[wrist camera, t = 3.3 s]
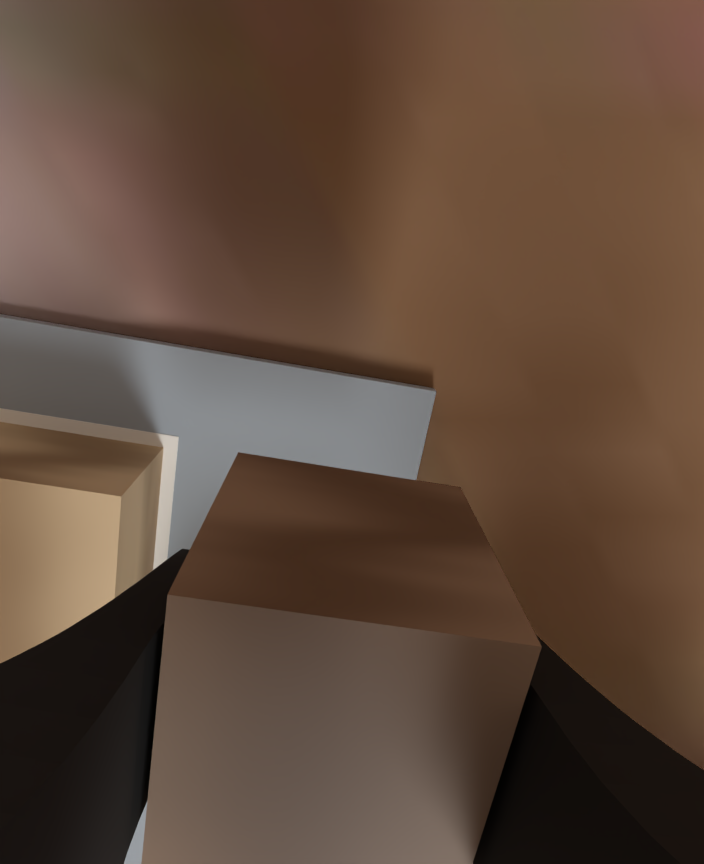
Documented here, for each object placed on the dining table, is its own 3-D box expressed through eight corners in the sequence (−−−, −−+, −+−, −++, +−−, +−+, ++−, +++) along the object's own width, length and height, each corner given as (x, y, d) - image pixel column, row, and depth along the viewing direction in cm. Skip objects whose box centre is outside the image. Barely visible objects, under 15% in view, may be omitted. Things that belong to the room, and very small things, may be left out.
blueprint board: (434, 388, 17) (436, 391, 17) (315, 912, 24) (315, 923, 23) (-100, 296, 16) (-111, 298, 16) (-70, 872, 23) (-78, 884, 22)
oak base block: (163, 447, 17) (121, 496, 14) (148, 621, 19) (107, 701, 16) (-50, 414, 17) (-146, 456, 13) (-45, 594, 18) (-129, 672, 15)
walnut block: (460, 487, 12) (541, 646, 7) (414, 670, 13) (457, 910, 8) (238, 452, 12) (166, 594, 7) (213, 643, 13) (140, 876, 8)
